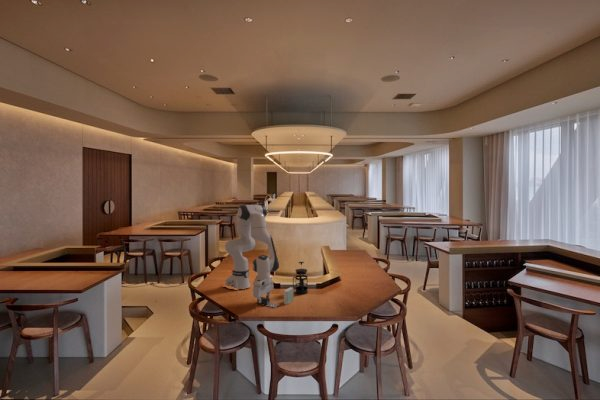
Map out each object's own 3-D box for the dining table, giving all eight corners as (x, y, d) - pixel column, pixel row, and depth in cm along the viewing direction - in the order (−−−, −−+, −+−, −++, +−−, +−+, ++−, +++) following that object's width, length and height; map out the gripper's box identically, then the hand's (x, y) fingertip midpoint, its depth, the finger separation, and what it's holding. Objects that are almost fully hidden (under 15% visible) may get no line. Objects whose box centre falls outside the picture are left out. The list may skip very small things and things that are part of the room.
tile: (283, 304, 209) (283, 291, 209) (290, 299, 217) (290, 287, 217) (287, 304, 208) (287, 291, 208) (293, 300, 216) (293, 287, 216)
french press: (307, 290, 238) (307, 260, 237) (309, 294, 228) (309, 263, 227) (292, 291, 236) (291, 261, 235) (294, 295, 226) (293, 264, 226)
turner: (256, 304, 209) (255, 298, 209) (261, 301, 214) (260, 295, 214) (275, 308, 202) (275, 302, 202) (279, 305, 208) (279, 299, 208)
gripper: (267, 275, 220) (268, 294, 221) (251, 283, 202) (251, 304, 202) (275, 276, 217) (275, 296, 218) (259, 284, 199) (259, 306, 199)
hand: (264, 300), depth 210 cm, fingers open, 8 cm apart
